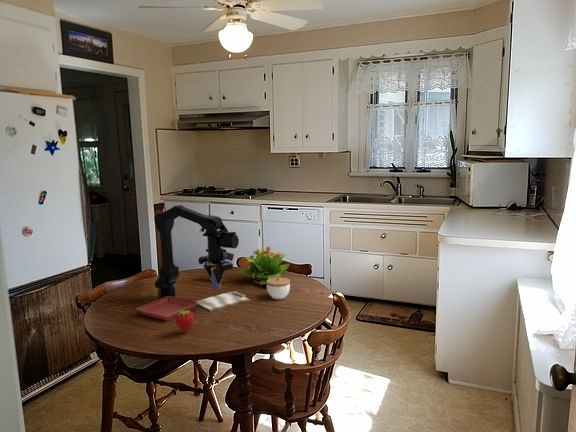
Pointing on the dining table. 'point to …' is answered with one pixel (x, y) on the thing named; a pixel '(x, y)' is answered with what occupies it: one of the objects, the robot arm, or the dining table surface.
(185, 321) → the strawberry
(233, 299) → the clipboard
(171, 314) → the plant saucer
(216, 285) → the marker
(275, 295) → the lidded jar
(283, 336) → the dining table surface
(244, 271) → the potted flower
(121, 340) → the dining table surface
